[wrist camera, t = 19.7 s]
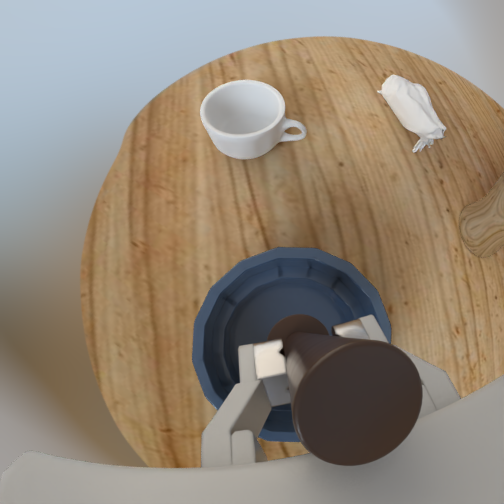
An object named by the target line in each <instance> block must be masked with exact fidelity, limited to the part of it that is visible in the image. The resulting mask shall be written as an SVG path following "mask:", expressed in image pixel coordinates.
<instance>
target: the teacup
mask: <svg viewBox="0 0 504 504" xmlns="http://www.w3.org/2000/svg"><path fill="white" fill-rule="evenodd" d="M200 116H201V119H202V122H203V125H204V127H205V128H206V130H207V132H208V134H209V136H210V137H211V139H212V141H213V143H214V144H215V146H216V147H217V148H218V149H219V150H220V151H221V152H222V153H224V154H226V155H228V156H230V157H233V158H237V159H253V158H257V157H260V156H262V155H264V154H266V153H267V152H269V151H270V150H271V149H272V148H273V147H274V146H275V145H276V144H277V143H279V142H282V141H296V140H301V139H303V138H305V136H306V134H307V130H306V127H305V126H304V125H303V124H302V123H300V122H298V121H295V120H292V119H287V118H286V117H285V102H284V99H283V97H282V95H281V94H280V93H279V92H278V91H277V90H276V89H275V88H274V87H272V86H270V85H268V84H266V83H263V82H260V81H255V80H238V81H232V82H229V83H226V84H223V85H221V86H219V87H217V88H216V89H214V90H213V91H211V92H210V93H209V94H208V95H207V96H206V98H205V99H204V101H203V102H202V105H201V109H200ZM290 127H297V128H299V129H300V130H301V131H302V134H300V135H292V134H288V133H286V132H285V130H286V129H288V128H290Z"/></svg>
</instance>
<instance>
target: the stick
mask: <svg viewBox="0 0 504 504" xmlns="http://www.w3.org/2000/svg"><path fill="white" fill-rule="evenodd" d="M279 338H281V339H282V343H283V348H284V352H285V357H286V366H287V375H288V384H289V392H290V401H291V410H292V419H293V425H294V429H295V432H296V434H297V436H298V438H299V440H300V442H301V443H302V445H303V446H304V447H305V448H306V449H307V450H308V451H309V452H310V453H311V454H312V455H314V456H315V457H317V458H319V459H320V460H323V461H325V462H327V463H331V464H335V465H341V466H357V465H363V464H367V463H370V462H373V461H376V460H378V459H380V458H382V457H384V456H386V455H387V454H389V453H390V452H392V451H393V450H394V449H396V448H397V447H398V446H399V445H400V444H401V443H402V442H403V441H404V440H405V439H406V438H407V436H408V435H409V434H410V432H411V431H412V429H413V428H414V426H415V424H416V422H417V419H418V417H419V414H420V411H421V406H422V399H423V389H422V383H421V378H420V375H419V372H418V370H417V368H416V366H415V364H414V363H413V361H412V360H411V359H410V358H409V356H408V355H407V354H406V353H404V352H403V351H402V350H401V349H399V348H397V347H396V346H394V345H392V344H389V343H387V342H383V341H378V340H369V339H358V338H348V337H338V336H330V335H329V332H328V330H327V329H326V327H325V326H324V325H323V324H322V323H321V322H320V321H319V320H318V319H316V318H314V317H312V316H309V315H305V314H294V315H290V316H287V317H285V318H283V319H281V320H280V321H279V322H277V323H276V324H275V325H274V326H273V328H272V329H271V331H270V333H269V335H268V338H267V341H269V340H274V339H279Z"/></svg>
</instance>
